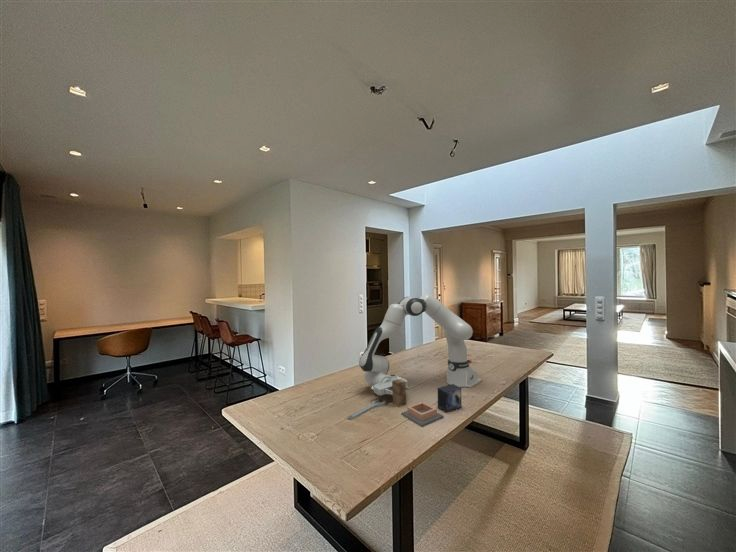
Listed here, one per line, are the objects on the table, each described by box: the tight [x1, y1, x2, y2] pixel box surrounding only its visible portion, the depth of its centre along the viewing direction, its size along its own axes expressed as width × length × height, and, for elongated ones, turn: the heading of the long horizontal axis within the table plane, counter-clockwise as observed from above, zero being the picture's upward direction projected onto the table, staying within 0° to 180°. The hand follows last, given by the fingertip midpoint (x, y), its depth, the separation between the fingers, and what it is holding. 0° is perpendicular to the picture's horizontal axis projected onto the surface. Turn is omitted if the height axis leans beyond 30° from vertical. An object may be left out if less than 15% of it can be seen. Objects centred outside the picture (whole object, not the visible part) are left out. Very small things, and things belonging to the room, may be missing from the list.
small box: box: [437, 384, 463, 413], centre depth 146 cm, size 11×6×10 cm, turn 115°
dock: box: [400, 401, 445, 428], centre depth 138 cm, size 14×14×4 cm
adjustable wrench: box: [347, 399, 387, 421], centre depth 147 cm, size 25×6×2 cm, turn 132°
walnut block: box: [392, 379, 407, 408], centre depth 152 cm, size 5×5×12 cm
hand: (400, 391), depth 152 cm, fingers open, 8 cm apart
